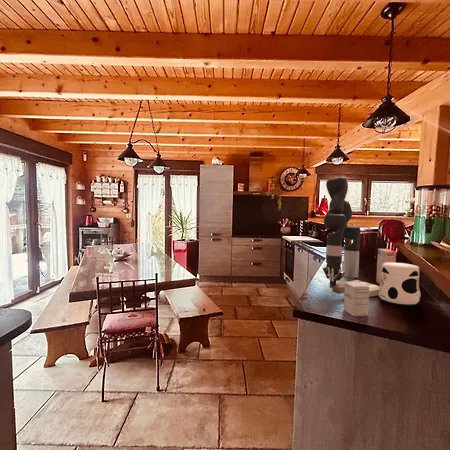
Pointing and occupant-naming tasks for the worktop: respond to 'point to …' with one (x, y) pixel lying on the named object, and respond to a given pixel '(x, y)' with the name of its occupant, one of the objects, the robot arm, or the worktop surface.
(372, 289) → the seat panel
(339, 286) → the walnut leg
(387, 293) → the milk container
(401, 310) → the worktop surface
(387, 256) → the cracker box
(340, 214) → the robot arm
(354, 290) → the supplement box
